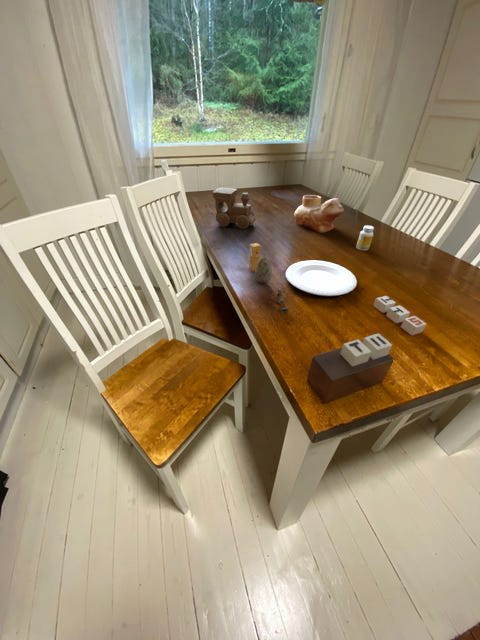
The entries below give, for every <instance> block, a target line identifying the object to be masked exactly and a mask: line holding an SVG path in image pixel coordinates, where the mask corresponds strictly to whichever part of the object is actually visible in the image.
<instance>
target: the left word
mask: <svg viewBox="0 0 480 640" xmlns="http://www.w3.org/2000/svg"><path fill="white" fill-rule="evenodd" d="M362 341H363V342H362ZM362 341H361V340H360V339H355V340H352V341H348V342H345V343H343V344H342V347H341V348H342V350H341V353H340V354H341V355H342V356H343V357H344V358H345V360H346V361H347V362H348V363H349V364H350V365H351V366H352V367H353V366H356V365H359V364H362V363H365V362H367V361H368V359H369V357H371V358H372V359H373V360H374V359H377V358H380V357H383V356H386V355H388V354H389V353H390V351H391V349H392V347H393V344H392V343H391V342H390V341H388V340H387V339H386V338H385V337H384V336H383V335H382V334H380V333H379V332H378V333H375V334H372V335H368V336H365V337H364V338H363V340H362Z"/></svg>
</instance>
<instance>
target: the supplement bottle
mask: <svg viewBox="0 0 480 640" xmlns="http://www.w3.org/2000/svg"><path fill="white" fill-rule="evenodd" d="M374 230H375V226H372V225H370V224H369V225H368V224H367V225H364V226H363V229H362V230H361V231H360V232H359V237H358V238H357V242H356V245H355V247H356V249H357V250H359V251H364V252H365V251H368V250H369V249H370V247H371V243H372V240H373V238H374Z"/></svg>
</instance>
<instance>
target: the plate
mask: <svg viewBox="0 0 480 640" xmlns="http://www.w3.org/2000/svg"><path fill="white" fill-rule="evenodd" d="M285 278H286V280H287V282H289V284H291V286H293V287H295V288H296V289H297V290H299V291H302V292H304V293H308V294H310V295H316V296H322V297H337V296H342V295H346V294H348V293H350V292H352V291H354V289H355V288H356V287H357V284H358V280H357V278H356V275H354V273H353V272H352V271H350V270H349V269H347V268H346V267H343V266H341V265H339V264H337V263H334V262H330V261H324V260H314V259H312V260H311V259H310V260H302V261H298V262H295V263H292V264H291V265H289V266H288V268H286V271H285Z"/></svg>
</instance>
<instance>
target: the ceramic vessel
mask: <svg viewBox="0 0 480 640" xmlns="http://www.w3.org/2000/svg"><path fill="white" fill-rule="evenodd" d="M344 212H345V209H344V205H342V204H341V200H340V199H339V198H338V197H334V198H331V199H328V200H326V201H325V202H324V203H322V196H321V195H315V194H304V195H303V196H302V204H301V205H299V206H298V207H297V208H296V210H295V211H294V213H293V216H294V218H295V221H296V224H297V225H298V226H300V227H303V228H307V229H311V230H312V231H315V232H317V233H321V234H323V233H326V232H330V231H331V230H333V229H334V228H335V225H334V223H333V222H334V220H335V219H336V218H339V217H340V216H341V215H342V214H343V213H344Z"/></svg>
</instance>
